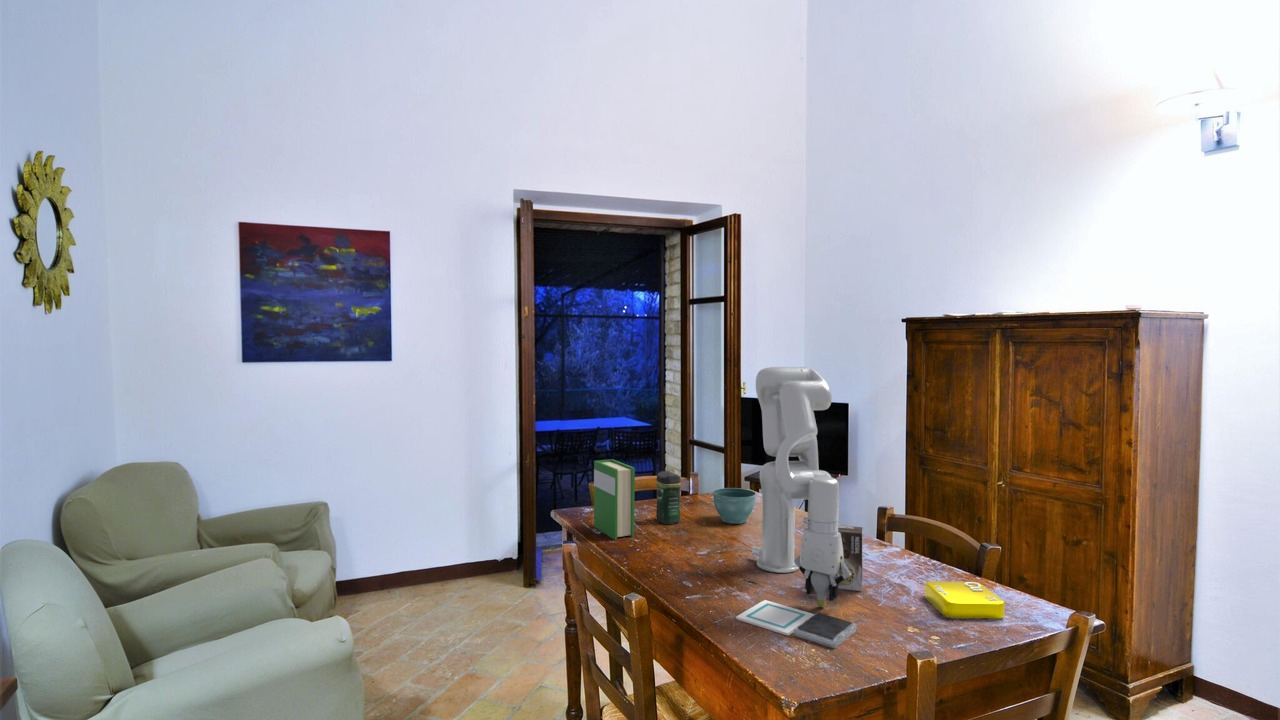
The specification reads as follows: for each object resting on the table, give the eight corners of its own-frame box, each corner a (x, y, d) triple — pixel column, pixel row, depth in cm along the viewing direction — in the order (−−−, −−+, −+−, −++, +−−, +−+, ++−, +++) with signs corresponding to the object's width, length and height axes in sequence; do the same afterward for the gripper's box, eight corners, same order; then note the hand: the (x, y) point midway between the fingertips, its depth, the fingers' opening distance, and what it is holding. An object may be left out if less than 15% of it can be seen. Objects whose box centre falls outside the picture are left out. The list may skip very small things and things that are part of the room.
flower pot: (713, 514, 262) (713, 486, 262) (755, 516, 260) (755, 488, 259) (711, 526, 246) (711, 496, 246) (756, 528, 244) (756, 498, 243)
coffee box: (862, 583, 189) (863, 526, 188) (862, 592, 183) (863, 533, 182) (828, 579, 192) (829, 523, 191) (827, 587, 186) (828, 529, 185)
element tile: (922, 596, 181) (922, 578, 181) (978, 597, 181) (979, 579, 181) (946, 619, 166) (946, 600, 166) (1007, 620, 166) (1008, 601, 166)
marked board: (735, 619, 165) (736, 616, 165) (764, 602, 175) (764, 599, 175) (787, 635, 156) (787, 632, 156) (814, 616, 166) (815, 614, 166)
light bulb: (807, 603, 174) (808, 565, 174) (827, 602, 175) (828, 564, 174) (814, 612, 169) (815, 572, 169) (835, 611, 169) (836, 572, 169)
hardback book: (634, 537, 232) (634, 467, 231) (614, 539, 228) (615, 469, 228) (612, 524, 247) (612, 459, 247) (593, 526, 244) (594, 460, 243)
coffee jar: (683, 523, 249) (684, 473, 248) (664, 526, 246) (664, 475, 245) (672, 517, 258) (672, 468, 257) (653, 519, 254) (653, 470, 254)
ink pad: (793, 635, 156) (793, 627, 156) (816, 619, 165) (817, 611, 165) (834, 648, 149) (835, 639, 149) (856, 630, 158) (856, 622, 158)
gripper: (785, 522, 174) (784, 591, 174) (849, 536, 163) (847, 610, 163) (798, 516, 179) (797, 583, 180) (861, 529, 168) (860, 600, 169)
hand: (821, 595), depth 172 cm, fingers closed on light bulb, 5 cm apart
